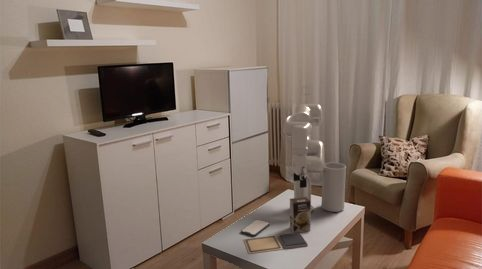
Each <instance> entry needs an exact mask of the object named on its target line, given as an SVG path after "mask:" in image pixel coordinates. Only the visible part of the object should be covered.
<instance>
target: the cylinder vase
mask: <svg viewBox="0 0 482 269" xmlns="http://www.w3.org/2000/svg"><path fill="white" fill-rule="evenodd" d="M346 177H347V165H346V164H344V163H341V162H324V171H323V172H322V184H321V208H322V209H323V210H325V211H327V212H332V213H333V212H336V213H337V212H342V211H344V209H345V196H346V195H345V194H346Z"/></svg>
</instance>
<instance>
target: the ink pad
mask: <svg viewBox="0 0 482 269" xmlns="http://www.w3.org/2000/svg"><path fill="white" fill-rule="evenodd" d="M277 239H278V240H279V242H280V244H281V246H282V247H283V248H284V250H288V249H296V248H303V247H308V246H309V245H308V243H307V241H306V240H305V238H304V236H303V234H301V232H297V233H293V232H292V233H286V234H279V235H278V237H277Z"/></svg>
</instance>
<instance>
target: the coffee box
mask: <svg viewBox="0 0 482 269" xmlns="http://www.w3.org/2000/svg"><path fill="white" fill-rule="evenodd" d="M311 205H312V200H311V201H310V200H309V199H308V198H307V197H301V198H294V197H293V198H289V228H290V230H291V231H292V233H304V232H309V231H311V213H312V212H311Z"/></svg>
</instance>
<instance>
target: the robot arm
mask: <svg viewBox="0 0 482 269" xmlns="http://www.w3.org/2000/svg"><path fill="white" fill-rule="evenodd" d="M323 116H324V115H323V108H322V106H321V105H320V104H318V103H302V104H298V105H297V106H296V108H295V112H294V114H291V115H289V116H288V117H286V118H285V120H284V123H283V130H282V132H283V135H285V136H286V137H288V138H291V154H292V155H291V170H292V172H293V173H292V174H293V198H301V197H307V198H308V199H309V200H310V201H311V202H312V180H311V177H310V176H309V174H323V171H324V164H325V145H324V142H323V141H321V140H318V139H317V140H313V139H312V134H313V130H314V128H313V127H320V126H321V125H322V123H323V121H324V120H323ZM314 209H315V207H314V206H313V205H312V204H311V213H312V212H313V211H314Z"/></svg>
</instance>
